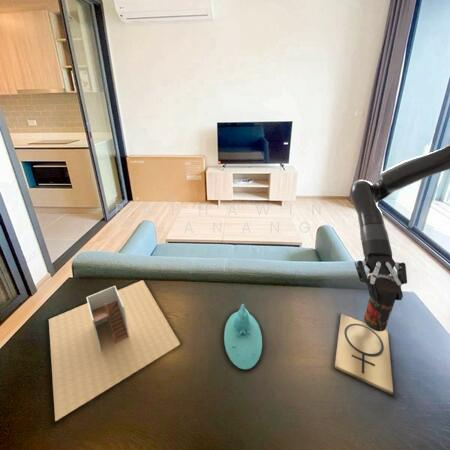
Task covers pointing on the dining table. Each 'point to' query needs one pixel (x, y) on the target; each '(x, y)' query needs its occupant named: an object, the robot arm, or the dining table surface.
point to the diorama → (243, 339)
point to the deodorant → (381, 304)
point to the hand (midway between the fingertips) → (386, 299)
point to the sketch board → (364, 353)
